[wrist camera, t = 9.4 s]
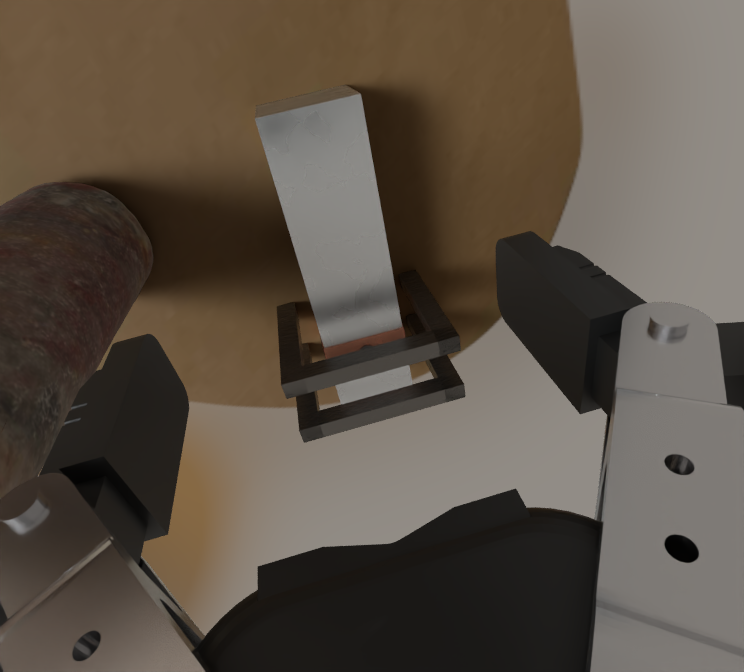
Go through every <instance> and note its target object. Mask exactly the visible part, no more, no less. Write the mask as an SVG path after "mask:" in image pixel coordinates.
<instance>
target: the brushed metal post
mask: <svg viewBox="0 0 744 672" xmlns="http://www.w3.org/2000/svg"><path fill="white" fill-rule="evenodd" d="M255 120H256V123H257V127H258V130H259V133H260V137H261V140H262V143H263V147H264V150H265V153H266V157H267V160H268V163H269V167H270V170H271V173H272V177H273V180H274V183H275V186H276V190H277V193H278V196H279V200H280V203H281V206H282V210H283V213H284V216H285V220H286V223H287V226H288V230H289V233H290V236H291V239H292V243H293V246H294V249H295V253H296V256H297V259H298V263H299V266H300V269H301V273H302V276H303V279H304V283H305V286H306V289H307V293H308V296H309V299H310V302H311V306H312V309H313V312H314V316H315V319H316V322H317V326H318V329H319V332H320V337H321V342H322V347H323V351H324V354H325V358H326V359H329V358H332V357H336V356H340V355H343V354H347V353H350V352H354V351H358V350H361V349H365V348H369V347H372V346H376V345H380V344H383V343H387V342H391V341H394V340H398V339H402V338H405V337H406V336H405V330H404V326H403V324H402V322H401V317H400V311H399V306H398V300H397V294H396V289H395V283H394V277H393V272H392V266H391V261H390V255H389V249H388V244H387V238H386V233H385V227H384V221H383V216H382V210H381V204H380V199H379V193H378V188H377V182H376V176H375V171H374V165H373V160H372V154H371V148H370V143H369V137H368V131H367V126H366V120H365V115H364V109H363V103H362V98H361V93H359V92H357V91H355V90H354V89H352V88H350V87H348V86H347V85H342V86H337V87H333V88H329V89H325V90H320V91H316V92H312V93H308V94H303V95H299V96H295V97H291V98H286V99H282V100H278V101H274V102H269V103H265V104H261V105H256V113H255ZM409 385H413V384H412V378H411V373H410V367H409V365H407V366H403V367H400V368H396V369H393V370H389V371H385V372H382V373H378V374H375V375H371V376H367V377H364V378H360V379H357V380H353V381H349V382H346V383H342V384H339V385H336V389H337V392H338V395H339V399H340V402H341V405H342V404H345V403H349V402H352V401H356V400H359V399H363V398H367V397H370V396H374V395H377V394H381V393H384V392H388V391H392V390H395V389H399V388H402V387H406V386H409Z"/></svg>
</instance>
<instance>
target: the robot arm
mask: <svg viewBox="0 0 744 672" xmlns="http://www.w3.org/2000/svg"><path fill="white" fill-rule="evenodd" d="M496 275H497V300H498V305H499V309H500V312H501V315H502V317H503V319H504V320H505V322H506V323H507V325H508V326H509V327H510V328H511V329H512V331H513V332H514V333H515V334H516V336H517V337H518V338H519V339H520V341H521V342H522V343H523V344H524V346H525V347H526V348H527V349H528V351H529V352H530V353H531V354H532V355H533V357H534V358H535V359H536V360H537V362H538V363H539V364H540V365H541V367H542V368H543V369H544V370H545V371H546V373H547V374H548V375H549V376H550V378H551V379H552V380H553V381H554V383H555V384H556V385H557V386H558V388H559V389H560V390H561V391H562V392H563V394H564V395H565V396H566V397H567V399H568V400H569V401H570V402H571V404H572V405H573V406H574V407H575V408H576V410H577V411H578V412H579V413H580V414H583V413H586V412H589V411H593V410H596V409H600V408H602V409H603V411H604V412H605V413H606V414H607V420H606V426H605V435H604V443H603V452H602V461H601V469H600V478H599V486H598V495H597V503H596V511H595V517H594V519H591V518H589V517H586V516H583V515H579V514H576V513H572V512H569V511H563V510H557V509H551V508H536V507H535V508H526V506H525V504H524V502H523V501H522V499H521V497H520V495H519V493H518V491H517V490H516V489H513V490H510V491H507V492H503V493H500V494H496V495H493V496H490V497H487V498H483V499H480V500H477V501H473V502H470V503H467V504H463V505H460V506H457V507H454V508H452V509H451V510H449V511H447V512H445V513H444V514H442V515H440V516H439V517H437V518H436V519H434V520H432V521H430V522H429V523H427V524H425V525H424V526H422V527H421V528H419V529H417V530H415V531H414V532H412V533H410V534H409V535H407V536H405V537H404V538H402V539H400V540H398V541H396V542H394V543H391V544H380V545H379V544H378V545H356V546H335V547H321V548H318V549H315V550H312V551H308V552H305V553H301V554H298V555H295V556H291V557H288V558H285V559H282V560H279V561H275V562H272V563H268V564H265V565H262V566H258V590H257V591H255V592H254V593H252V594H250V595H249V596H248V597H246V598H245V599H243V600H242V601H241V602H239V603H238V604H237V605H235V606H234V607H233V608H232V609H231V610H230V611H229V612H228V613H227V614H225V615H224V616H223V617H222V618H221V619H220V620H219V621H218V623H217V624H216V625H215V626H214V627H213V628H212V629H211V630H210V631H209V632H208V633H207V635H206V636H205V635H204V634H203V633H202V632H201V631H200V629H199V628H198V627H197V626H196V624H195V623H194V622H193V621H192V619H191V618H190V617H189V616H188V614H187V613H186V612H185V610H184V609H183V608H182V607H181V605H180V604H179V603H178V602H177V600H176V599H175V598H174V596H173V595H172V594H171V593H170V591H169V590H168V589H167V587H166V586H165V585H164V584H163V582H162V581H161V580H160V578H159V577H158V576H157V575H156V573H155V572H154V571H153V570H152V568H151V567H150V566H149V564H148V563H147V562H146V561H145V560H144V559H143V558H142V557H141V553H142V548H143V543H144V541H147V540H150V539H154V538H157V537H160V536H164V535H167V534H168V531H169V525H170V519H171V513H172V506H173V501H174V495H175V489H176V483H177V477H178V471H179V465H180V460H181V453H182V447H183V442H184V436H185V430H186V424H187V418H188V412H189V402H188V396H187V393H186V390H185V387H184V385H183V383H182V381H181V380H180V378H179V376H178V375H177V373H176V371H175V369H174V368H173V366H172V364H171V362H170V361H169V359H168V357H167V356H166V354H165V352H164V350H163V349H162V347H161V345H160V344H159V342H158V340H157V339H156V338H155V337H154V336H153V335H151V334H146V335H142V336H138V337H135V338H131V339H127V340H124V341H120V342H116V343H114V344H113V345H112V347H111V349H110V352H109V354H108V356H107V359H106V361H105V363H104V365H103V368H102V370H98V371H96V372H95V373H94V374H93V375H92V376H91V377H90V378H89V379H88V381H87V382H86V383H85V384H84V385H83V386H82V387H81V388H80V389H79V391H78V393H77V396H76V398H75V400H74V402H73V404H72V406H71V408H72V410H70V411H69V413H68V415H67V417H66V419H65V421H64V423H65V425H64V426H62V428H61V430H60V432H59V434H58V436H57V438H56V440H55V442H54V445H53V447H52V449H51V451H50V453H49V455H48V457H47V459H46V462H45V464H44V466H43V468H42V470H41V472H40V474H39V476H37V477H34V478H32V479H29V480H27V481H25V482H24V483H22V484H20V485H18V486H17V487H15V488H14V489H12V490H11V491H10V492H8V493H7V494H6V495H4V496H3V497H2V498H1V499H0V672H744V322H736V323H719V324H715V323H714V321H713V320H712V319H711V318H710V317H708V316H707V315H706V314H704V313H703V312H701V311H699V310H697V309H694V308H692V307H689V306H686V305H682V304H677V303H670V302H652V303H647V302H645V301H644V300H643V299H641V298H640V297H639V296H637V295H636V294H634V293H633V292H632V291H630V290H629V289H628V288H626V287H625V286H624V285H622V284H621V283H620V282H618V281H617V280H615V279H614V278H613V277H611V276H610V275H606V272H605V271H603V270H602V269H601V268H599V267H598V266H594V264H593V263H592V262H591V261H590V260H588V259H587V258H586V257H584V256H583V255H582V254H580V253H578V252H576V251H573V250H570V249H567V248H563V247H561V246H554V247H552V246H550V245H549V244H548V243H547V242H545V241H544V240H543V239H542V238H540V237H539V236H538V235H536V234H535V233H534V232H532V231H529V232H525V233H521V234H518V235H514V236H510V237H507V238H503V239H500V240H498V241H497V244H496Z"/></svg>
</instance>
